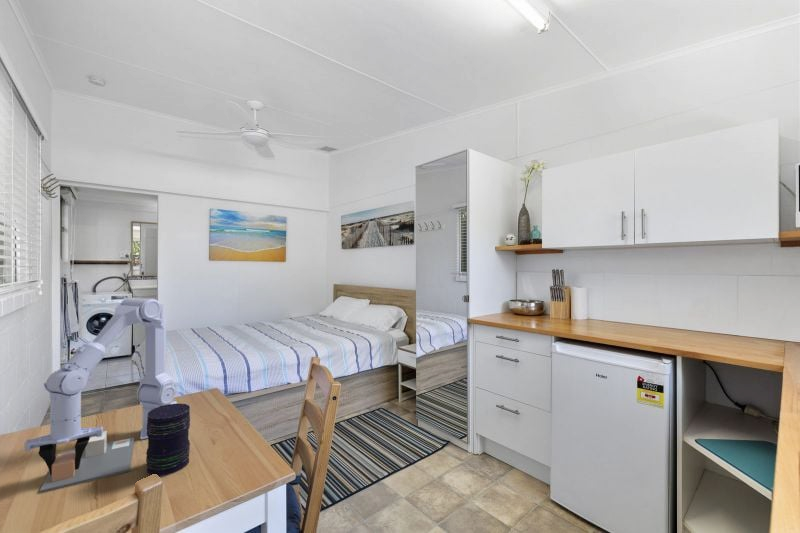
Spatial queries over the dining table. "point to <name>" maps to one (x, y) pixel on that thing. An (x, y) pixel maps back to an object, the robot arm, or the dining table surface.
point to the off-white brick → (96, 445)
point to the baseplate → (97, 465)
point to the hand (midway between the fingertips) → (65, 470)
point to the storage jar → (168, 439)
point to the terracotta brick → (63, 466)
